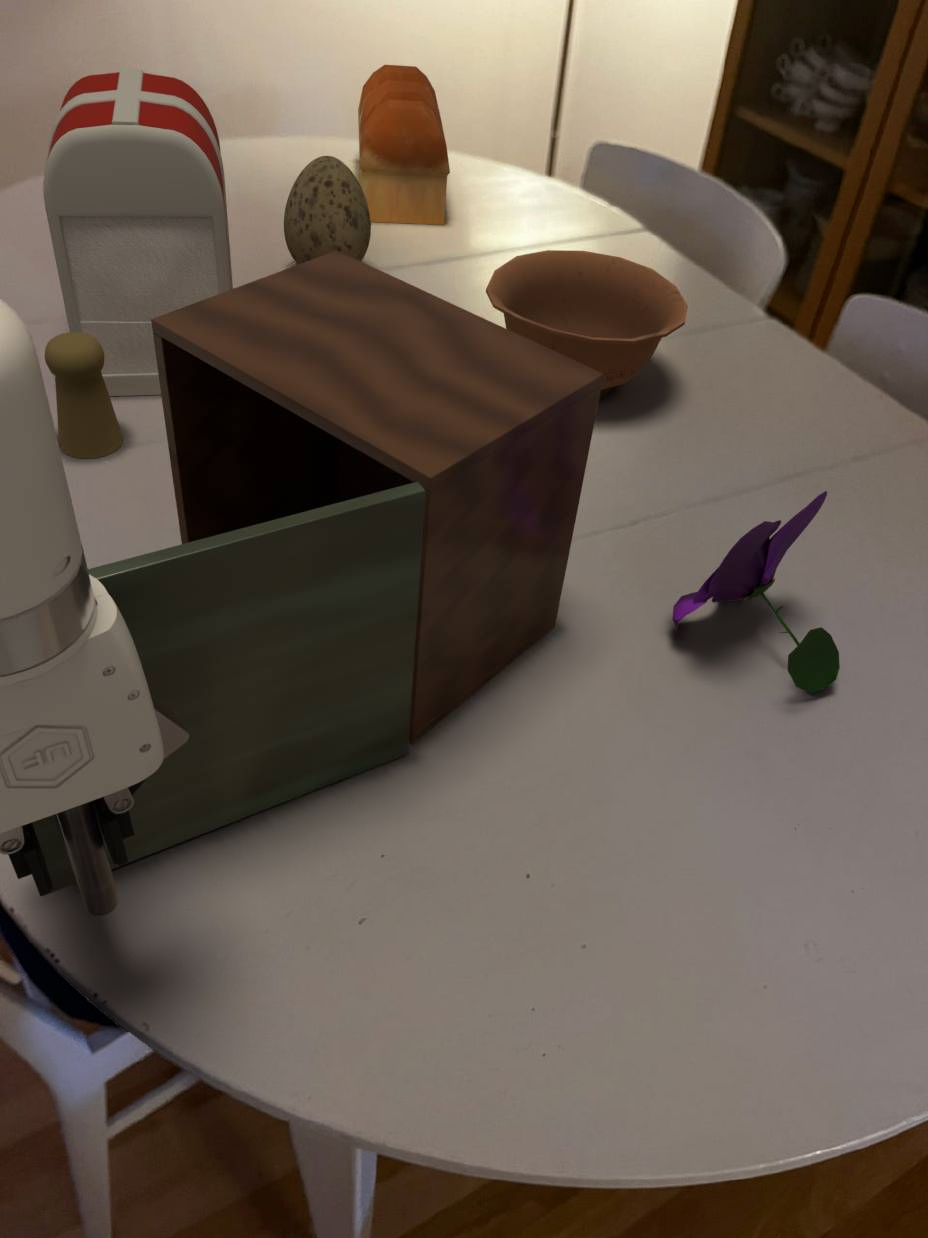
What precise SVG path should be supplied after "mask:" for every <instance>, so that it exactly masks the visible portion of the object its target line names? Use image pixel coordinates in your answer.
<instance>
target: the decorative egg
mask: <svg viewBox="0 0 928 1238" xmlns="http://www.w3.org/2000/svg"><path fill="white" fill-rule="evenodd" d="M283 234H284V235H283V236H284V239H285V243H286V247H287V250H288V252H289V254H290V256H291V258H292V260H293V261H294V262H295V264H296V265H299V264H302V263H304V262H307V261H310V260H313V259H315V258H318V257H321V256H323V255H326V254H329V253H331V252H334V251H339V252H341V253H344V254H346V255H348V256H350V257H352V258H354V259H356V260H359V261H361V262H363V260H364V258H365V256H366V255H367V251H368V249H369V245H370V241H371V236H372V235H371V234H372V224H371V221H370V213H369V208H368V204H367V201H366V198H365V195H364V192H363V190H362V188H361V186H360V181H359V180H358V178H357V176H356V175H355V174H354V173H353V171H352V170H351V169H350V168H349V167H348V165H347V164H345V163H344V162H343V161H342V160H341V159H339V158H337V157H335V156H332V155H322V156H319V157H317V158H314V159H312V160H311V161H310V162H309V163H308V164H307V165H306V166H305V167H304V168H303V169H302V170H301V171H300V173H299V174H298V175H297V177H296V179H295V181H294V182H293V185H292V187H291V189H290V192H289V194H288V197H287V200H286V203H285V207H284V214H283Z"/></svg>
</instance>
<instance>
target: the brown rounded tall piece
mask: <svg viewBox="0 0 928 1238" xmlns="http://www.w3.org/2000/svg"><path fill="white" fill-rule="evenodd" d="M44 361H45V364H46V366H47V368H48V370H49V372H50V373H51V374H52V375H53V376H54V382H55V384H54V385H55V398H56V414H57V415H56V416H57V432H58V445H59V449H60V451H62V452H63V453H64V454H66V455H67V456H70V457H73V458H76V459H97V458H98V459H99V458H102V457H107V456H108V455H110V454H112V453H114V452H116V451H117V450H119V449H121V446H122V444H123V443H124V436H123V433H122V430H121V426H120V424H119V421H118V418H117V415H116V412H115V409H114V406H113V403H112V400H111V396H109V394H108V391H107V388H106V385H105V382H104V379H103V376H102V373H101V370H102V368H103V367H104V351H103V349H102V346H101V345H100V343H99V342H98V341H97V340H96V338H94V337H93V336H91V335H88V334H85V333H80V332H70V331H69V332H63V333H61V334H58V335H55V336H53V337H52V338H50V339H49V341H48V342H47V343H46V346H45V349H44Z"/></svg>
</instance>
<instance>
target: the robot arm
mask: <svg viewBox="0 0 928 1238" xmlns="http://www.w3.org/2000/svg"><path fill="white" fill-rule="evenodd" d="M53 419H54V418H53V414H52V410H51V406H50V403H49V397H48V393H47V390H46V386H45V381H44V377H43V371H42V368H41V364H40V359H39V357H38V353H37V350H36V347H35V343H34V339H33V336H32V335H31V332H30V330H29V328H28V327H27V325H26V323H25V322H24V321H23V319H22V318H21V317H20V314H19V313H18V312H17V311H16V310H15V309H13V307H11V306H10V305H8V304H7V303H6V302H5V301H4V300H2V299H1V298H0V854H2V855H8V858H9V860H10V863H11V865H12V868H13V870H14V873H15V875H16V877H17V879H18V880H20V879H23V878H26V877H28V876H32V879H33V881H34V884H35V887H36V889H37V891H38V894H39V896H40V897H44V896H43V895H45V894H47V895H49V894H48V893H50V890H51V889H53V888H54V887H53V884H52V881H51V878H50V875H49V872H48V868H47V865H46V862H45V859H44V856H43V853H42V850H41V847H40V844H39V841H38V838H37V835H36V833H35V830H34V827H33V824H32V822H34V821H37V820H40V819H43V818H46V817H49V816H52V815H54V814H57V813H60V812H63V811H65V810H68V809H71V808H74V807H77V806H79V805H82V804H85V803H88V802H90V801H93V805H94V808H95V812H96V815H97V819H98V822H99V825H100V828H101V831H102V834H103V836H104V839H105V842H106V844H107V847H108V850H109V852H110V855H111V858H112V860H113V863H114V865H115V864H118V865H119V867H121V866H120V865H122V864H124V865H126V864H125V863H127V864H129V863H128V858H127V854H126V850H125V847H124V843H123V840H124V839H126V838H129V837H131V836H134V835H135V834H134V830H133V826H132V822H131V818H130V814H129V810H130V809H131V808H132V806H133V805H134V800H133V798H132V795H133V794H134V793H135V792H136V790H137V789H138V788H139V787H140V786H141V785H142V784H143V782H144V781H145V780H146V779H147V778H148V777H149V776H150V775H152V774H153V773H154V772H155V771H156V770H157V769H158V768H159V767H160V766H161V764H162V762H163V759H165V758H166V757H167V756H169V755H170V754H171V753H173V752H174V751H175V750H176V749H178V748H179V747H180V746H182V745H183V744H184V743H185V742H186V741H187V740H188V738H189V734H188V732H187V730H186V728H185V726H184V723H183V721H182V719H181V718H180V717H179V716H178V715H177V714H175V713H174V712H172V711H171V710H170V709H168V708H167V707H166V706H164V705H163V704H161V703H160V702H159V701H157V700H156V699H155V698H153V697H152V696H151V695H150V692H149V688H148V685H147V681H146V678H145V675H144V672H143V668H142V665H141V662H140V659H139V656H138V653H137V650H136V647H135V645H134V642H133V639H132V637H131V634H130V632H129V630H128V628H127V625H126V623H125V621H124V619H123V617H122V615H121V613H120V611H119V609H118V607H117V606H116V604H115V602H114V601H113V599H112V598H111V596H110V595H109V594H108V592H107V591H106V589H105V587H104V586H103V585H102V584H101V583H100V582H99V581H98V580H97V579H96V578H94V577H93V576H91V575H90V574H89V573H88V569H89V568H88V565H87V559H86V555H85V552H84V548H83V543H82V539H81V535H80V530H79V527H78V522H77V518H76V514H75V510H74V505H73V501H72V497H71V491H70V488H69V483H68V479H67V475H66V471H65V467H64V462H63V458H62V454H61V448H60V446H59V439H58V437H57V433H56V428H55V423H54V420H53ZM122 866H123V865H122ZM50 894H51V893H50ZM45 896H46V895H45Z"/></svg>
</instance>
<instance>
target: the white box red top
mask: <svg viewBox="0 0 928 1238" xmlns="http://www.w3.org/2000/svg"><path fill="white" fill-rule="evenodd" d="M222 157H223V156H222V152H221V145H220V138H219V135H218V128H217V126H216V122H215V120H214V117H213V115H212V113H211V111H210V108H209V106H208V105H207V103H206V102H205V101H204V98H203V97H202V96H201V95H200V94H199V93H198V91H197V90H196V89H195V88H194V87H192V86H191V85H190V84H189V83H187V82H186V81H184V80H182V79H181V78H178V77H175V76H171V75H170V76H169V75H164V74H157V73H152V72H146V71H144V70H143V69H133V68H132V69H131V68H127V69H126V68H121V69H119V71H111V72H103V73H92V74H87V75H85V76H82V77H80V78H79V79H77V80H76V81H75V82H74V83H73V84H72V85H71V86H70V87H69V88H68V91H67V92H66V94H65V96H64V98H63V101H62V103H61V106H60V110H59V113H58V114H57V116H56V118H55V121H54V124H53V126H52V129H51V134H50V138H49V143H48V152H47V158H46V162H45V167H44V172H43V183H42V185H43V186H42V187H43V188H42V189H43V201H44V207H45V214H46V218H47V225H48V229H49V234H50V239H51V245H52V251H53V254H54V259H55V264H56V269H57V275H58V281H59V286H60V290H61V295H62V300H63V305H64V310H65V316H66V320H67V327H68V330H69V332H80V333H85V334H88V335H91V336H93V337H94V338H96V340H97V341H98V342H99V343H100V345H101V346H102V349H103V351H104V367H103V368H102V370H101V373H102V376H103V379H104V382H105V385H106V388H107V391H108V394H109V397H126V396H127V397H132V396H133V397H134V396H161V389H160V382H159V375H158V368H157V360H156V353H155V346H154V338H153V331H152V324H151V319H153V318H156V317H158V316H161V315H164V314H166V313H169V312H172V311H175V310H177V309H180V308H183V307H185V306H188V305H191V304H194V303H196V302H199V301H202V300H204V299H207V298H210V297H212V296H215V295H218V294H221V293H223V292H226V291H229V290H231V289H234V284H233V272H232V269H233V268H232V257H231V244H230V243H231V242H230V232H229V231H230V230H229V219H228V218H229V217H228V205H227V195H226V193H227V192H226V191H227V190H226V180H225V168H224V162H223V158H222Z"/></svg>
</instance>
